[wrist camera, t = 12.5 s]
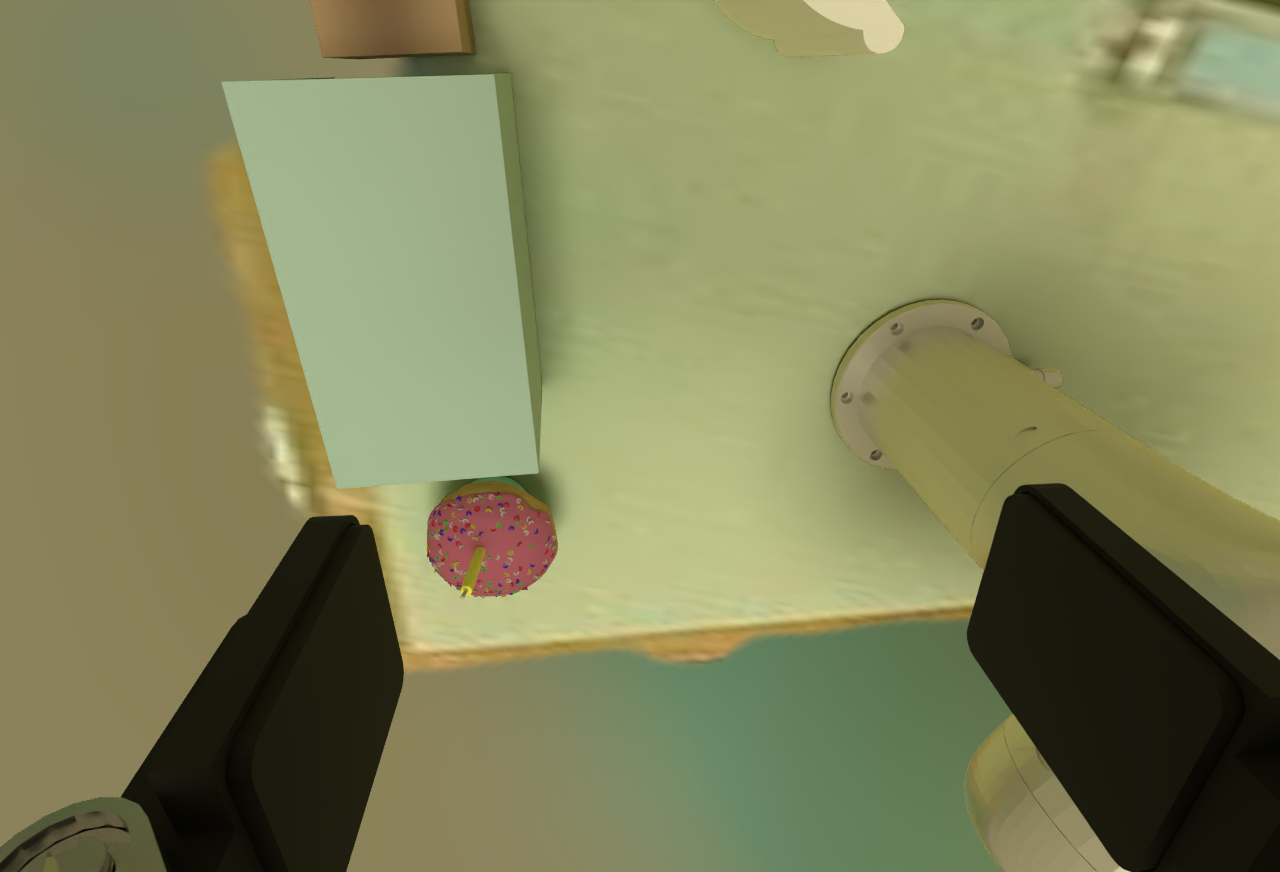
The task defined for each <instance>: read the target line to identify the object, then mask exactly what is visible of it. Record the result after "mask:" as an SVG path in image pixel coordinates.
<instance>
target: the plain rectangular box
mask: <svg viewBox="0 0 1280 872" xmlns="http://www.w3.org/2000/svg"><path fill="white" fill-rule="evenodd" d="M222 86H223V89H224V93H225V96H226V100H227V103H228V107H229V110H230V114H231V117H232V121H233V125H234V128H235V132H236V135H237V139H238V142H239V146H240V149H241V153H242V156H243V160H244V163H245V167H246V170H247V174H248V177H249V181H250V184H251V188H252V191H253V195H254V198H255V202H256V206H257V209H258V213H259V216H260V220H261V223H262V227H263V230H264V234H265V237H266V241H267V244H268V248H269V251H270V255H271V258H272V262H273V265H274V269H275V272H276V276H277V279H278V283H279V286H280V290H281V293H282V297H283V300H284V304H285V308H286V311H287V315H288V318H289V322H290V325H291V329H292V332H293V336H294V339H295V343H296V346H297V350H298V353H299V357H300V360H301V364H302V367H303V371H304V374H305V378H306V381H307V385H308V388H309V392H310V395H311V399H312V402H313V406H314V410H315V413H316V417H317V420H318V424H319V427H320V431H321V434H322V438H323V441H324V445H325V448H326V452H327V455H328V459H329V462H330V466H331V469H332V473H333V476H334V480H335V483H336V487H337V489H343V488H356V487H369V486H381V485H394V484H407V483H420V482H433V481H446V480H459V479H472V478H485V477H498V476H510V475H523V474H536V473H539V454H540V429H541V403H542V377H541V367H540V357H539V347H538V337H537V328H536V318H535V308H534V298H533V288H532V278H531V268H530V258H529V249H528V239H527V229H526V219H525V209H524V199H523V189H522V180H521V170H520V160H519V150H518V140H517V130H516V120H515V111H514V101H513V91H512V81H511V73H490V74H477V75H449V76H412V77H377V78H337V79H335V78H305V79H280V80H255V81H228V82H222Z"/></svg>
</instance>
